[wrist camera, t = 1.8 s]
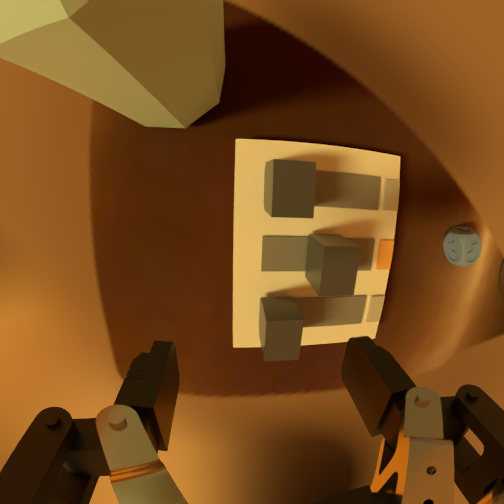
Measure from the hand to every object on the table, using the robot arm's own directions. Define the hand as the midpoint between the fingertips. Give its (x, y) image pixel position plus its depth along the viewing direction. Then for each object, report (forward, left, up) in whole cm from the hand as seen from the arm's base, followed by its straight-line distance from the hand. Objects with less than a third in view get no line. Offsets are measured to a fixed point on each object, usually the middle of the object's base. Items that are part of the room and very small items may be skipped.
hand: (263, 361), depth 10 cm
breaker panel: (-7, 0, -18) cm, 19 cm away
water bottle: (+7, -16, -18) cm, 25 cm away
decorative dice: (-27, -1, -18) cm, 33 cm away
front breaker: (-3, -6, -15) cm, 16 cm away
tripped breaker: (-7, 0, -15) cm, 16 cm away
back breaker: (-3, +6, -15) cm, 16 cm away
